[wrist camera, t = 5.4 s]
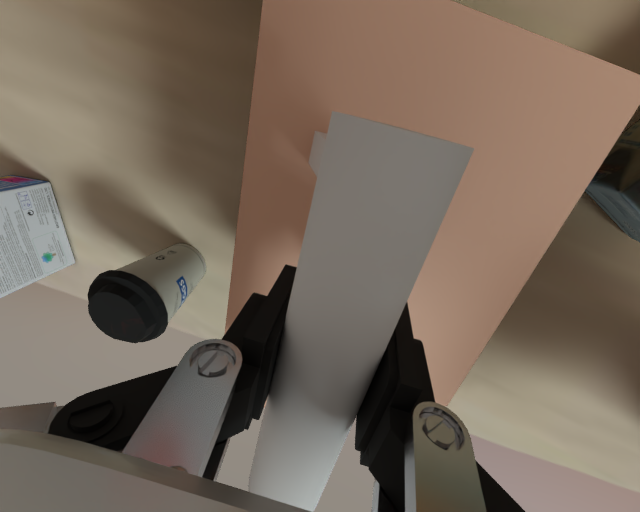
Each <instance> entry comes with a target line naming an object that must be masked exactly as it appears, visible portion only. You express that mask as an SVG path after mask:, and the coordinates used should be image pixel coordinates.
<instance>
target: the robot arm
mask: <svg viewBox="0 0 640 512" xmlns="http://www.w3.org/2000/svg"><path fill="white" fill-rule="evenodd" d="M296 269H297V267H294V266H290V265H287V264H286V265H285V266H284V268H283V270H282V271H281V273H280V275H279V276H278V278H277V280H276V282H275V283H274V285H273V287H272V289H271V290H270V292H269V294H268V295H267V296H265V295H262V294H258V293H255V292H254V293H253V294H252V295H251V296H250V298H249V299H248V301H247V302H246V304H245V305H244V307H243V308H242V310H241V311H240V313H239V314H238V316H237V317H236V319H235V320H234V322H233V323H232V325H231V326H230V328H229V329H228V331H227V332H226V334H225V335H224V337H223V338H222V340H221V339H210V340H205V341H202V342H199V343H197V344H195V345H194V346H192V347H191V348H190V349H189V350H188V351H187V352H186V353H185V355H184V356H183V358H182V360H181V361H180V363H179V364H178V366H175V367H171V368H168V369H165V370H161V371H158V372H155V373H151V374H148V375H145V376H141V377H138V378H135V379H131V380H128V381H125V382H122V383H118V384H115V385H112V386H108V387H105V388H102V389H99V390H95V391H92V392H89V393H86V394H84V395H82V396H79V397H77V398H76V399H74V400H72V401H71V402H69V403H68V404H66V405H65V406H58V407H57V406H56V402H49V403H40V404H32V405H23V406H13V407H5V408H0V512H311V511H308V510H305V509H301V508H298V507H295V506H292V505H289V504H286V503H282V502H279V501H276V500H273V499H270V498H267V497H263V496H260V495H257V494H254V493H251V492H247V491H244V490H241V489H238V488H234V487H232V486H228V485H225V484H222V483H218V482H216V479H217V476H218V473H219V471H220V468H221V465H222V462H223V459H224V456H225V453H226V450H227V447H228V444H229V441H230V437H232V436H234V435H236V434H238V433H240V432H242V431H244V429H247V430H248V428H249V426H250V423H251V420H252V418H253V419H256V420H259V418H260V416H261V413H262V410H263V408H264V405H265V402H266V400H267V397H268V394H269V390H270V386H271V381H272V377H273V373H274V368H275V364H276V359H277V355H278V350H279V346H280V341H281V337H282V333H283V328H284V324H285V319H286V313H287V309H288V304H289V300H290V295H291V291H292V287H293V282H294V278H295V273H296ZM355 449H356V450H358V451H361V455H360V464H361V465H365V466H368V467H369V470H370V472H371V473H372V474H373V476H374V477H375V482H374V489H373V501H372V512H525V511H524V510H523V509H522V508H521V507H520V506H519V505H518V504H517V503H516V502H515V501H514V500H513V499H512V498H511V496H509V494H508V493H507V492H506V491H505V490H503V488H502V487H501V486H500V485H499V484H498V483H497V482H496V481H495V480H494V479H493V478H492V477H491V476H490V475H489V474H488V473H487V472H486V471H485V470H484V469H483V468H482V467H481V466H480V465H479V464H478V462H477V461H476V460H475V456H474V452H473V447H472V442H471V438H470V435H469V432H468V430H467V428H466V427H465V425H464V423H463V422H462V421H461V420H460V418H459V417H458V416H457V415H456V414H455V413H453V412H452V411H451V410H449V409H448V408H447V407H445V406H443V405H441V404H439V403H435V398H434V393H433V389H432V384H431V379H430V375H429V370H428V365H427V361H426V356H425V351H424V347H423V343H422V341H421V340H418V339H415V338H414V337H413V331H412V325H411V320H410V314H409V309H408V303H407V302H406V305H405V307H404V309H403V311H402V314H401V316H400V318H399V320H398V323H397V325H396V327H395V329H394V332H393V334H392V336H391V339H390V341H389V343H388V345H387V348H386V350H385V352H384V354H383V357H382V359H381V361H380V363H379V366H378V368H377V370H376V372H375V375H374V377H373V379H372V381H371V384H370V386H369V388H368V390H367V393H366V395H365V397H364V400H363V402H362V404H361V406H360V409H359V411H358V413H357V418H356V436H355Z"/></svg>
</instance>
